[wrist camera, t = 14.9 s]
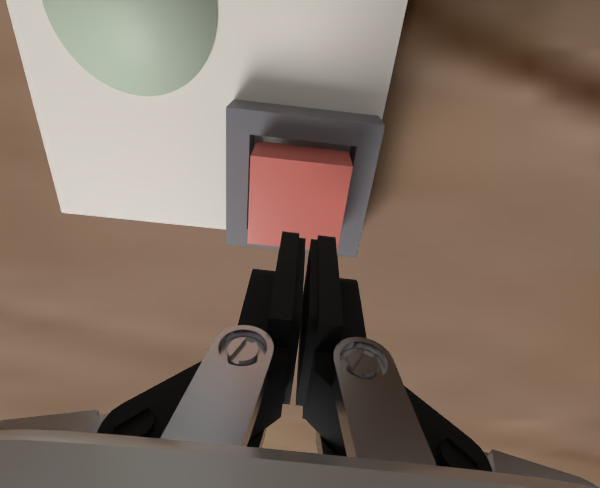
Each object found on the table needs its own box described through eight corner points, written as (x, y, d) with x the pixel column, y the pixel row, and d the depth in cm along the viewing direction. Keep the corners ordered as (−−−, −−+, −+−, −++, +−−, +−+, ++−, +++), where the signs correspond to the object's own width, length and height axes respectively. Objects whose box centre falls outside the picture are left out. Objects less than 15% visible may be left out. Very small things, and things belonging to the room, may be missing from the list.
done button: (253, 222, 18) (247, 243, 16) (257, 141, 16) (250, 155, 14) (334, 230, 18) (336, 252, 16) (348, 151, 16) (353, 166, 14)
